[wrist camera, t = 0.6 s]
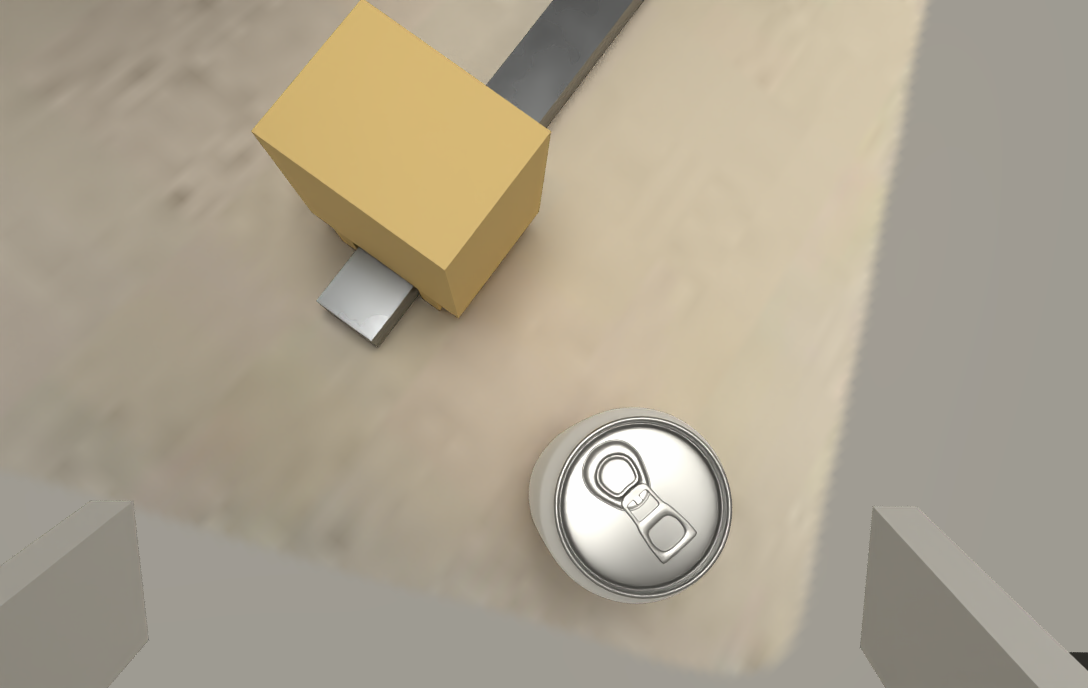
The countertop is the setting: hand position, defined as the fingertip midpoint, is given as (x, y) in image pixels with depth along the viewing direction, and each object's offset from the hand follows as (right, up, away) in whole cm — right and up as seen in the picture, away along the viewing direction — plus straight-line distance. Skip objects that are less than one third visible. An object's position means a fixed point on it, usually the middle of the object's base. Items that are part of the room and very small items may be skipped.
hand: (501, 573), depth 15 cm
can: (+3, -3, +23) cm, 24 cm away
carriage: (-5, +10, +24) cm, 27 cm away
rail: (0, +15, +25) cm, 30 cm away
